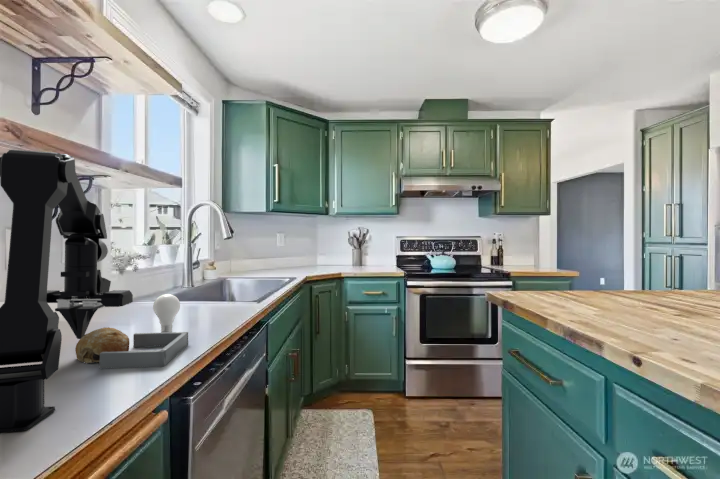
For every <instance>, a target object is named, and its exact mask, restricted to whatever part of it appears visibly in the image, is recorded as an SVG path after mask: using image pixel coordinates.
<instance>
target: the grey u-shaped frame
mask: <svg viewBox="0 0 720 479" xmlns="http://www.w3.org/2000/svg"><path fill="white" fill-rule="evenodd" d="M132 342H133V348H140V347H141V348H144V347H143V346H150V347H163V348H162V349H161V350H160V349H159V350H156V349H155V350H129V351H118V352H101V353H100V362H99V369H100V368H103V369H128V368H155V367H156V368H157V367H160V368H161V367H165V366H166V365H168V364H169V363H170V362H171V361H172V360H173V359H174V358H175V357H176V356H177V355H178V354H179V353H181V352H182V351H183V350H184V349H185V348H186V347H187V346H188V345H189V331H179V332H176V331H175V332H173V331H172V332H167V333H161V332H135V333H133V341H132Z"/></svg>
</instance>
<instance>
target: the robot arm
mask: <svg viewBox="0 0 720 479" xmlns="http://www.w3.org/2000/svg"><path fill="white" fill-rule="evenodd" d="M76 172H77V171H76V159H75V158H74V157H73V155H68V154H67V153H66V154H65V153H59V152H51V151H50V152H49V151H47V152H46V151H38V150H35V151H34V150H23V149H9V150H8V151H7V152H3V153H2V155H1V156H0V187H1V188H2V189H3V191H4V193H5V194H6V195H7V197H8V198H9V199H10V201H11V203H12V215H11V216H12V217H11V228H10V239H9V250H8V260H7V262H8V263H7V271H6V272H7V273H6V282H5V283H6V284H5V294H4V295H5V296H4V303H3V304H2V305H1V306H0V433H6V432H7V433H8V432H22V431H26V430H29V429H30V428H32V426H34V425H36V424H37V423H39V422H40V421H42V420H43V419H45V418H46V417H47V416H49V415H50V414H51V413H53V412H54V411H56V406H45V380H48V379H49V378H50V377H52V376H53V374H55V373H56V372H58V369H59V365H60V357H61V348H62V339H63V338H62V336H63V335H62V331H61V329H60V328H59V322H60V316H59V314H58V313H57V312H59V313H60V315H62V317H63V319H64V320H65V321H66V322H67V324H68V326H69V327H70V329H71V331H72V332H73V334H74V337H75V338H76V339H77V340H80V339H81V338H82V337H83V336H84V335H85V334H87V333H86V332H87V330H88V327H89V325H90V323H91V321H92V318H93V317H94V316H95V314H96V312H97V311H98V310H99V309H102V308H103V307H104V308H114V307H115V308H118V307H124V306H126V305H129V304H131V303H133V302H134V301H133V297H134V295H133V292H132V291H130V290H128V289H127V290H126V289H125V290H123V289H121V290H119V289H118V290H117V289H114V290H113V289H112V290H110V288H111V283H112V281H111V280H110V279H108V278H106V277H102V272H101V269H98V263H99V262H101V261H103V260H105V258H106V257H107V255H108V253H109V250H108V246H107V244H106V243H105V242H104V241H102V240H106V239H108V235H107V234H108V233H107V228H106V222H105V221H106V220H105V217H104V214H103V213H101V211H100V209H99V207H98V205H97V204H96V203H94V202H92V201H90V200H88V199H87V197H86V194H85V192H84V190H83V187H82V185H81V181H80V180H79V177H78V175H77V173H76ZM57 206H58V208H59V212H58V214H57V217H56V218H55V224H56V227H57V229H58V231H59V234H60V236H62V237H63V239H65V241H64V271H60V277H61V278H64V281H63V282H64V283H63V284H64V287H63V288H64V290H62V291H60V290H54V289H53V290H52V289H51V290H48V284H49V283H48V279H49V267H50V255H51V254H50V253H51V239H52V228H53V226H52V224H53V212H54V209H55V208H56V207H57ZM49 304H57V307H56V308H54V310H53V309H52V307H51V306H50V305H49ZM23 364H24V365H23ZM25 364H26V365H25ZM11 365H12V366H11ZM1 366H3V367H1Z"/></svg>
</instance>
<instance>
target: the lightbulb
mask: <svg viewBox="0 0 720 479" xmlns="http://www.w3.org/2000/svg"><path fill="white" fill-rule="evenodd" d="M180 309H181V302H180V300H179V298H178V297H177V296H176V295H174V294H172V293H164V294H161V295H160V296H158V297H157V298H156V299H154V301H153V304H152V310H153V312H154V314H155V316H156V317H157V318H158V320H159V323H160V333H167V332H173V323H174V320H175V318H176V316H177V314H178V313H179V311H180Z"/></svg>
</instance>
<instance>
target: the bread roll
mask: <svg viewBox="0 0 720 479" xmlns="http://www.w3.org/2000/svg"><path fill="white" fill-rule="evenodd" d="M118 351H130V338H129V336H128V335H127V334H126V333H124V332H122V330H120V329H118V328H114V327H109V326H108V327H102V328H98V329H95V330H92V331H90V332H88V333H85V335H84V336H83V337H82V338H81V339H78V341H77V343H76V345H75V355H76V359H77V361H79V362H81V363H83V362H85V363H84V364H86V363H87V364H92V363H94V362H96V363H100V353H101V352H118Z"/></svg>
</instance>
